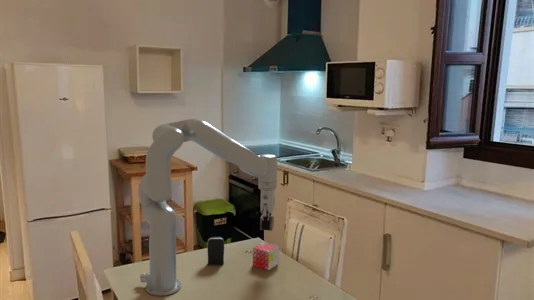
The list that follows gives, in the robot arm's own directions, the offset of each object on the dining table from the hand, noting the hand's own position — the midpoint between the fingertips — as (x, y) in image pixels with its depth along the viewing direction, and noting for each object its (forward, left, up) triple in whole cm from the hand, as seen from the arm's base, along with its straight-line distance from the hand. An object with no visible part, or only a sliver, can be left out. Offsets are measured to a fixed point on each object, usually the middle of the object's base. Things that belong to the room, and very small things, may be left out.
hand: (266, 226), depth 177 cm
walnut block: (0, 0, -1) cm, 1 cm away
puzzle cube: (0, 0, -17) cm, 17 cm away
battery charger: (-21, -3, -17) cm, 27 cm away
